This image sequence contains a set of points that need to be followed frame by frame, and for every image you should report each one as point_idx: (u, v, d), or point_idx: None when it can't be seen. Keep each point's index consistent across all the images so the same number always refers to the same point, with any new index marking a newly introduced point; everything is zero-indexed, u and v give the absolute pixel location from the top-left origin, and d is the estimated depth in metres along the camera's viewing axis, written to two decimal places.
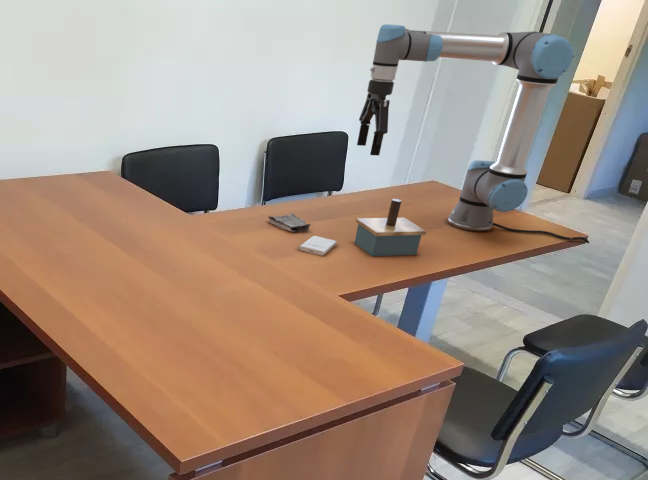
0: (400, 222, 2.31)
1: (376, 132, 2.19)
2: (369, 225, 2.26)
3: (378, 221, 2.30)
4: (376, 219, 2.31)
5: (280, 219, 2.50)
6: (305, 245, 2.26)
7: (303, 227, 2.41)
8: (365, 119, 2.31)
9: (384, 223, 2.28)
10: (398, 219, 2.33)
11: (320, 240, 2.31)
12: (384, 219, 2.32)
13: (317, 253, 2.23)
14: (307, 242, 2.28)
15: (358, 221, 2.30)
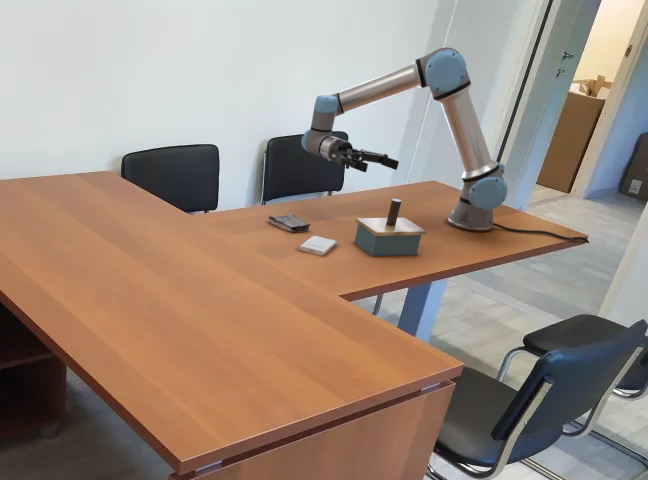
0: (400, 222, 2.31)
1: (346, 167, 2.29)
2: (369, 225, 2.26)
3: (378, 221, 2.30)
4: (376, 219, 2.31)
5: (280, 219, 2.50)
6: (305, 245, 2.26)
7: (303, 227, 2.41)
8: (376, 160, 2.35)
9: (384, 223, 2.28)
10: (398, 219, 2.33)
11: (320, 240, 2.31)
12: (384, 219, 2.32)
13: (317, 253, 2.23)
14: (307, 242, 2.28)
15: (358, 221, 2.30)
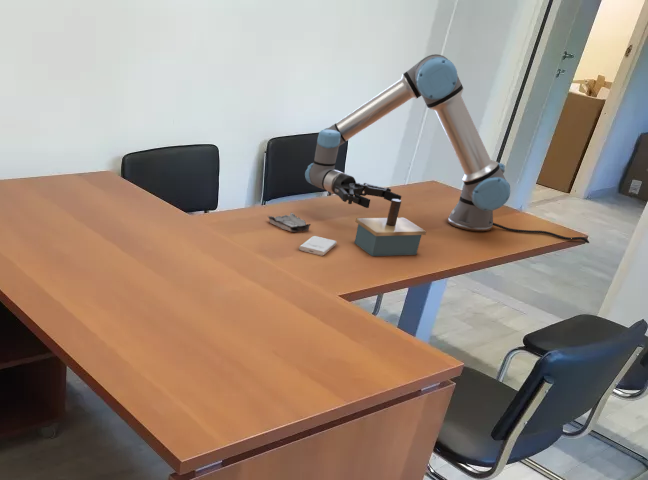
0: (400, 222, 2.31)
1: (348, 202, 2.31)
2: (369, 225, 2.26)
3: (378, 221, 2.30)
4: (376, 219, 2.31)
5: (280, 219, 2.50)
6: (305, 245, 2.26)
7: (303, 227, 2.41)
8: (379, 194, 2.37)
9: (384, 223, 2.28)
10: (398, 219, 2.33)
11: (320, 240, 2.31)
12: (384, 219, 2.32)
13: (317, 253, 2.23)
14: (307, 242, 2.28)
15: (358, 221, 2.30)
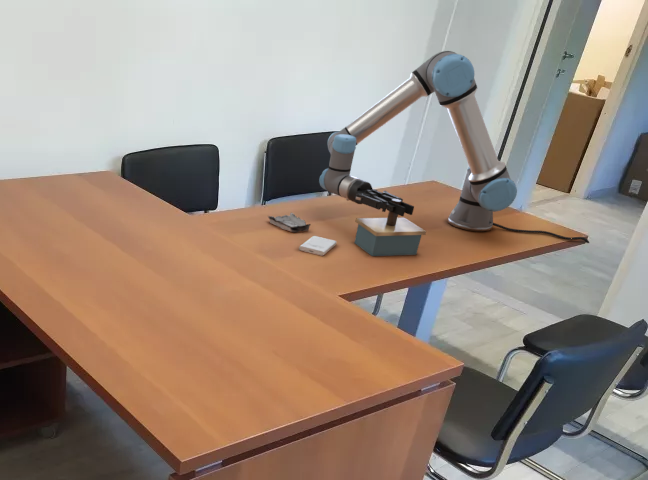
0: (400, 222, 2.31)
1: (383, 210, 2.25)
2: (369, 225, 2.26)
3: (378, 221, 2.30)
4: (376, 219, 2.31)
5: (280, 219, 2.50)
6: (305, 245, 2.26)
7: (303, 227, 2.41)
8: None
9: (384, 223, 2.28)
10: (398, 219, 2.33)
11: (320, 240, 2.31)
12: (384, 219, 2.32)
13: (317, 253, 2.23)
14: (307, 242, 2.28)
15: (358, 221, 2.30)
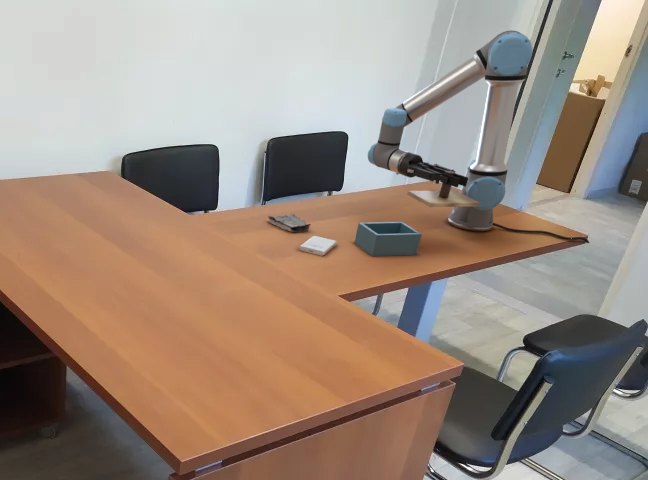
0: (452, 194, 2.32)
1: (436, 182, 2.26)
2: (422, 197, 2.26)
3: (430, 193, 2.31)
4: (428, 192, 2.32)
5: (280, 219, 2.50)
6: (305, 245, 2.26)
7: (303, 227, 2.41)
8: None
9: (436, 195, 2.29)
10: (449, 192, 2.34)
11: (320, 240, 2.31)
12: (436, 192, 2.33)
13: (317, 253, 2.23)
14: (307, 242, 2.28)
15: (410, 193, 2.31)
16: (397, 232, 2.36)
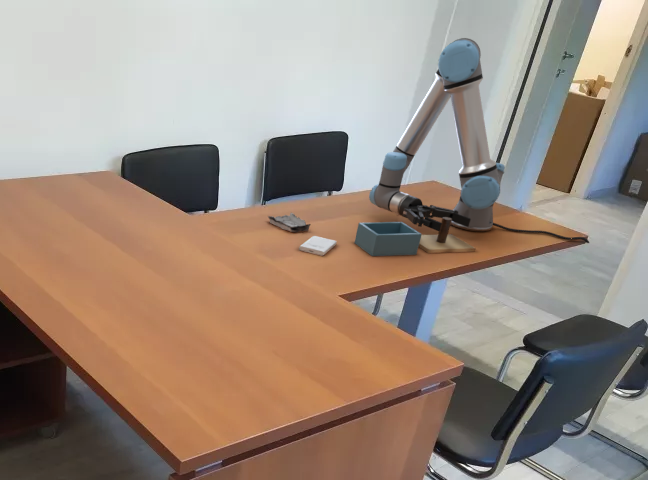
0: (449, 238, 2.41)
1: (419, 225, 2.34)
2: (420, 242, 2.36)
3: (428, 238, 2.40)
4: (426, 236, 2.41)
5: (280, 219, 2.50)
6: (305, 245, 2.26)
7: (303, 227, 2.41)
8: None
9: (434, 240, 2.38)
10: (447, 236, 2.43)
11: (320, 240, 2.31)
12: (433, 236, 2.42)
13: (317, 253, 2.23)
14: (307, 242, 2.28)
15: None
16: (397, 232, 2.36)
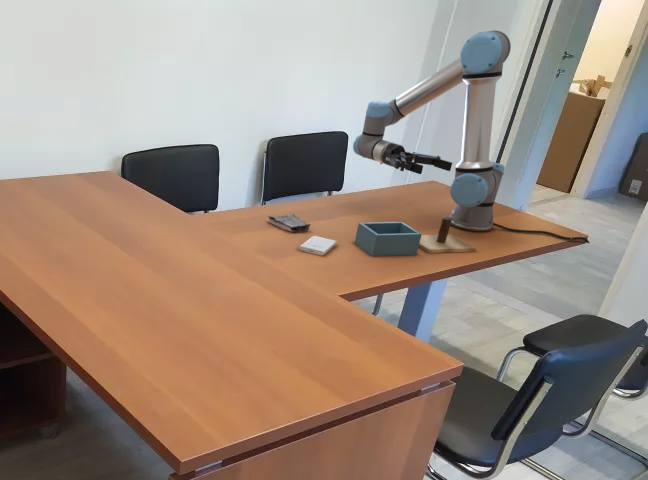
0: (449, 238, 2.41)
1: (401, 169, 2.36)
2: (420, 242, 2.36)
3: (428, 238, 2.40)
4: (426, 236, 2.41)
5: (280, 219, 2.50)
6: (305, 245, 2.26)
7: (303, 227, 2.41)
8: (428, 162, 2.43)
9: (434, 240, 2.38)
10: (447, 236, 2.43)
11: (320, 240, 2.31)
12: (433, 236, 2.42)
13: (317, 253, 2.23)
14: (307, 242, 2.28)
15: None
16: (397, 232, 2.36)
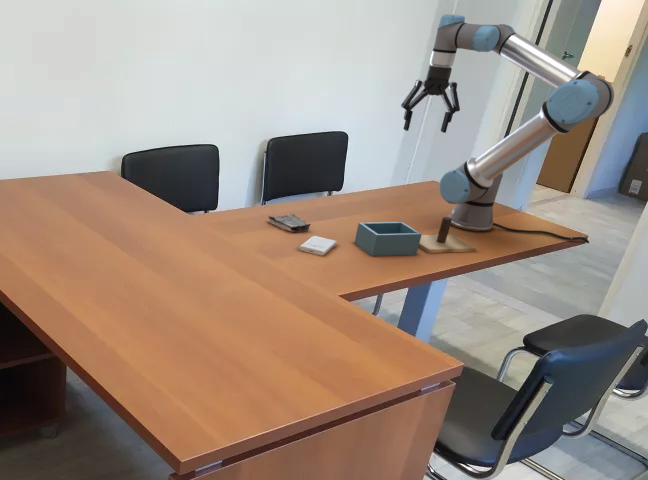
0: (449, 238, 2.41)
1: None
2: (420, 242, 2.36)
3: (428, 238, 2.40)
4: (426, 236, 2.41)
5: (280, 219, 2.50)
6: (305, 245, 2.26)
7: (303, 227, 2.41)
8: (446, 106, 2.46)
9: (434, 240, 2.38)
10: (447, 236, 2.43)
11: (320, 240, 2.31)
12: (433, 236, 2.42)
13: (317, 253, 2.23)
14: (307, 242, 2.28)
15: None
16: (397, 232, 2.36)
